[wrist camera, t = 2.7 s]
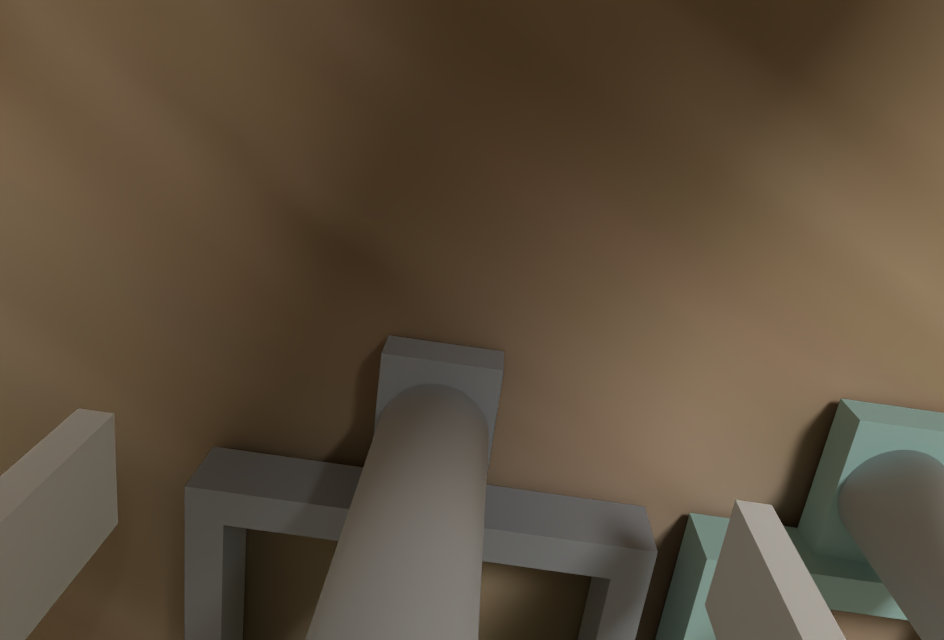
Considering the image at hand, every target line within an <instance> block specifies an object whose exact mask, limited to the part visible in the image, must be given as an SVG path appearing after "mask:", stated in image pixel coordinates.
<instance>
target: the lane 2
mask: <svg viewBox="0 0 944 640" xmlns="http://www.w3.org/2000/svg"><path fill="white" fill-rule="evenodd" d="M729 521H730V518H723V517H716V516H708V515H701V514H694V513H690V514H689V518H688V521H687V525H686V529H685V532H684V536H683V540H682V543H681V547H680V551H679V554H678V558H677V562H676V565H675V569H674V573H673V576H672V580H671V584H670V587H669V591H668V595H667V599H666V602H665V606H664V610H663V613H662V617H661V621H660V624H659V628H658V632H657V635H656V639H655V640H716V637H715V634H714V631H713V628H712V625H711V622H710V620H709V617H708V614H707V611H706V608H705V602H706V599H707V595H708V592H709V588H710V585H711V582H712V578H713V575H714V571H715V568H716V565H717V561H718V558H719V554H720V551H721V548H722V544H723V541H724V537H725V534H726V531H727V527H728V524H729ZM784 528H785V530H786V532H787V533H788V535H789V537H790V539H791V541H792V542H793V544H794V546H795V548H796V550H797V552H798V553H799V555H800V557H801V559H802V561H803V562H804V564H805V566H806V568H807V570H808V571H809V573H810V575H811V577H812V579H813V580H814V582H815V584H816V586H817V588H818V590H819V591H820V593H821V595H822V597H823V599H824V600H825V602H826V604H827V606H828V608H829V609H830V610H837V611H844V612H852V613H859V614H866V615H873V616H880V617H888V618H895V619H902V620H908V621H909V622H910V624H911V625H912V627H913V628H914V630H915V631H916V633H917V634H918V636H919V637H920V639H921V640H944V413H941V412H934V411H927V410H919V409H912V408H905V407H898V406H891V405H884V404H877V403H869V402H862V401H855V400H848V399H840V402H839V405H838V408H837V411H836V414H835V417H834V420H833V423H832V426H831V429H830V432H829V435H828V438H827V441H826V444H825V447H824V450H823V453H822V456H821V459H820V462H819V465H818V468H817V471H816V474H815V477H814V480H813V483H812V486H811V489H810V492H809V495H808V498H807V501H806V504H805V507H804V510H803V513H802V516H801V519H800V522H799V525H798V528H794V527H787V526H784Z"/></svg>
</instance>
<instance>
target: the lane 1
mask: <svg viewBox="0 0 944 640" xmlns="http://www.w3.org/2000/svg"><path fill="white" fill-rule="evenodd" d="M503 373H504V351H497V350H490V349H483V348H476V347H469V346H461V345H454V344H447V343H440V342H433V341H426V340H418V339H411V338H404V337H397V336H390V335H389V336H388V338H387V341H386V343H385V346H384V348H383V351H382V353H381V363H380V373H379V383H378V393H377V404H376V414H375V424H374V434H373V440H372V443H371V446H370V449H369V452H368V455H367V458H366V461H365V464H364V467H357V466H349V465H342V464H335V463H328V462H321V461H313V460H306V459H299V458H292V457H285V456H278V455H270V454H263V453H256V452H249V451H242V450H234V449H227V448H220V447H212V449H211V450H210V452H209V453H208V454H207V456H206V457H205V459H204V460H203V461H202V463H201V464H200V466H199V467H198V468H197V470H196V471H195V473H194V474H193V475H192V477H191V478H190V480H189V481H188V482H187V484H186V485H185V596H184V640H243V617H244V588H245V559H246V529H255V530H262V531H269V532H276V533H283V534H291V535H298V536H305V537H312V538H319V539H327V540H334V541H338V544H337V547H336V550H335V553H334V556H333V559H332V562H331V565H330V568H329V571H328V574H327V577H326V580H325V583H324V586H323V589H322V592H321V594H320V597H319V600H318V603H317V606H316V609H315V612H314V615H313V618H312V621H311V624H310V627H309V630H308V633H307V636H306V639H305V640H478V631H479V612H480V593H481V575H482V561H485V562H492V563H499V564H506V565H514V566H521V567H528V568H535V569H542V570H550V571H557V572H564V573H571V574H578V575H585V576H592V578H591V583H590V587H589V592H588V596H587V600H586V605H585V609H584V614H583V618H582V622H581V627H580V631H579V636H578V640H635V638H636V634H637V630H638V626H639V622H640V619H641V615H642V611H643V607H644V603H645V599H646V596H647V592H648V588H649V584H650V580H651V576H652V573H653V569H654V565H655V561H656V557H657V553H658V551H657V548H656V544H655V541H654V537H653V533H652V530H651V526H650V523H649V519H648V516H647V512H646V509H645V507H644V506H637V505H629V504H622V503H615V502H608V501H601V500H593V499H586V498H579V497H572V496H565V495H558V494H550V493H543V492H536V491H529V490H522V489H514V488H507V487H500V486H493V485H486V481H487V473H488V466H489V460H490V454H491V448H492V441H493V435H494V429H495V423H496V416H497V410H498V404H499V398H500V391H501V385H502V379H503Z"/></svg>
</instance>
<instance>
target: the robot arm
mask: <svg viewBox="0 0 944 640" xmlns="http://www.w3.org/2000/svg"><path fill="white" fill-rule="evenodd" d="M117 524H118V503H117V475H116V446H115V418H114V413H108V412H101V411H94V410H86V409H79V408H78V409H77V410H76V411H74V412H73V413H72V414H71V415H70V416H69V417H68V418H66V419H65V420H64V421H63V422H62V423H61V424H59V425H58V426H57V427H56V428H55V429H54V430H53V431H51V432H50V433H49V434H48V435H47V436H46V437H45V438H43V439H42V440H41V441H40V442H39V443H38V444H36V445H35V446H34V447H33V448H32V449H31V450H30V451H28V452H27V453H26V454H25V455H24V456H23V457H22V458H20V459H19V460H18V461H17V462H16V463H15V464H14V465H12V466H11V467H10V468H9V469H8V470H7V471H5V472H4V473H3V474H2V475H1V476H0V640H26V639H27V637H28V636H29V635H30V634H31V632H32V631H33V630H34V629H35V627H36V626H37V625H38V624H39V622H40V621H41V620H42V619H43V617H44V616H45V615H46V613H47V612H48V611H49V610H50V608H51V607H52V606H53V605H54V603H55V602H56V601H57V600H58V598H59V597H60V596H61V595H62V593H63V592H64V591H65V590H66V588H67V587H68V586H69V585H70V583H71V582H72V581H73V580H74V578H75V577H76V576H77V575H78V573H79V572H80V571H81V570H82V568H83V567H84V566H85V565H86V563H87V562H88V561H89V560H90V558H91V557H92V556H93V555H94V553H95V552H96V551H97V550H98V548H99V547H100V546H101V545H102V543H103V542H104V541H105V540H106V538H107V537H108V536H109V535H110V533H111V532H112V531H113V529H114V528H115V527H116V526H117ZM705 608H706V611H707V614H708V617H709V620H710V622H711V625H712V628H713V631H714V634H715V637H716V640H846V638H845V637H844V635H843V633H842V631H841V629H840V628H839V626H838V624H837V622H836V620H835V618H834V617H833V615H832V613H831V611H830V609H829V608H828V606H827V604H826V602H825V600H824V599H823V597H822V595H821V593H820V591H819V590H818V588H817V586H816V584H815V582H814V580H813V579H812V577H811V575H810V573H809V571H808V570H807V568H806V566H805V564H804V562H803V561H802V559H801V557H800V555H799V553H798V552H797V550H796V548H795V546H794V544H793V542H792V541H791V539H790V537H789V535H788V533H787V532H786V530H785V528H784V526H783V524H782V523H781V521H780V519H779V517H778V515H777V514H776V512H775V510H774V508H773V506H772V505H768V504H761V503H754V502H747V501H740V500H735V504H734V507H733V510H732V514H731V517H730V521H729V524H728V527H727V531H726V534H725V537H724V541H723V544H722V548H721V551H720V554H719V558H718V561H717V565H716V568H715V571H714V575H713V578H712V582H711V585H710V588H709V592H708V595H707V599H706V602H705Z"/></svg>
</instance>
